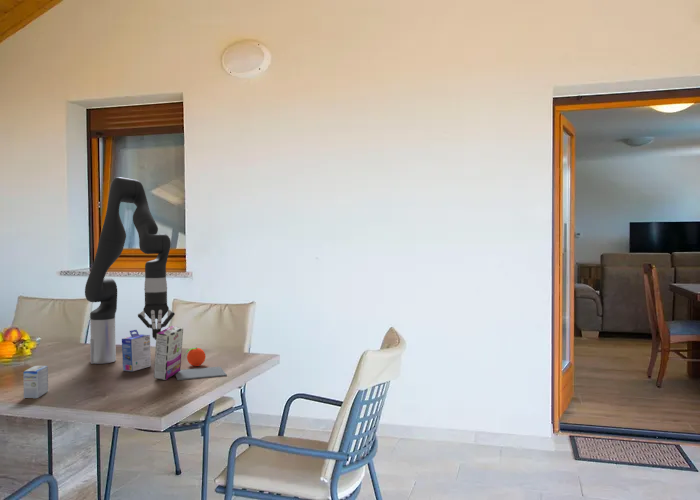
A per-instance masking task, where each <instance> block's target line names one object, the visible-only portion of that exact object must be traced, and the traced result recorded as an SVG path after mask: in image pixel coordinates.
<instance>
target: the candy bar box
mask: <svg viewBox="0 0 700 500" xmlns="http://www.w3.org/2000/svg"><path fill="white" fill-rule="evenodd" d="M183 334H184V327H181V326H175V325H171V326H169V327H167V328H165V329H163V330H161V332H159V333H157V334H156V340H155V354H154V355H155V356H154V367H153V368H154V369H153V379H155V380H163V381H167V380H168V379H170V378H172V377H173V376H175V374H176V373H178V372H179V371H180V370H181V369H182V368H181V366H182V364H181V363H182V352H183V349H182V348H183Z"/></svg>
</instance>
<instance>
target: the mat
mask: <svg viewBox="0 0 700 500" xmlns="http://www.w3.org/2000/svg"><path fill="white" fill-rule="evenodd" d="M174 376H175V378H176V381H185V380H197V379H208V378H209V379H210V378H218V377H219V378H220V377H227V376H228V375H227V373H226V372H225V370H224V369H223V368H222V367H221V366H212V367H211V366H210V367H200V368H199V367H198V368H188V369H180V371H179V372H178V373H176V374H175V375H174Z"/></svg>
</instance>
